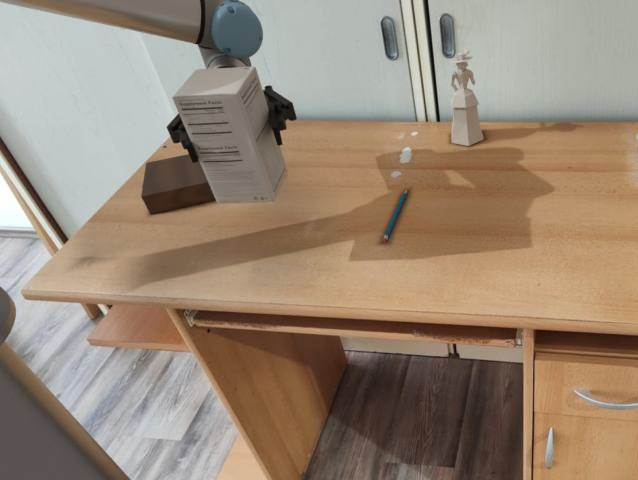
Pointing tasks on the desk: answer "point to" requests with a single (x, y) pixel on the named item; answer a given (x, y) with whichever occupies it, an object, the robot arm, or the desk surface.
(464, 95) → the figurine
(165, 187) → the block
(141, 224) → the desk surface
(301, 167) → the desk surface
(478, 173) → the desk surface
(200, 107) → the supplement box
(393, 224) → the pencil
